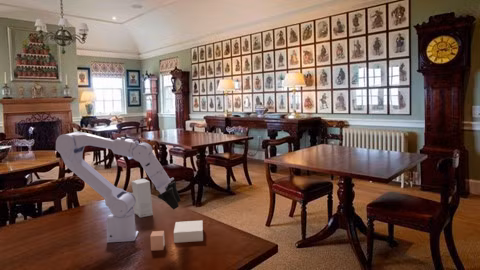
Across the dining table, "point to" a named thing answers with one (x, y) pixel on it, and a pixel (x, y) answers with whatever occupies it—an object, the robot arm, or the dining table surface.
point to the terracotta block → (157, 240)
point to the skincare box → (142, 197)
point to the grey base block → (188, 231)
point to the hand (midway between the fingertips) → (177, 204)
